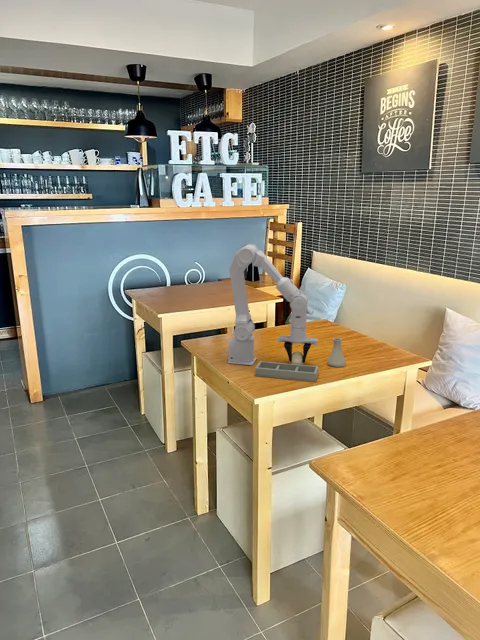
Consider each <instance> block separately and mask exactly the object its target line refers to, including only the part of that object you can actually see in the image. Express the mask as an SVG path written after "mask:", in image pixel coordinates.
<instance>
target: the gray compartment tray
mask: <svg viewBox="0 0 480 640" xmlns="http://www.w3.org/2000/svg"><path fill="white" fill-rule="evenodd" d="M254 376H255V377H260V378H271V379H280V380H290V381H291V380H292V381H301V382H311V383H312V382H313V383H316V382H317V379H318V376H319V366H318V365H311V364H310V365H307V364H303V365H299V364H291V363H286V362H285V363H284V362H274V361H263V360H259V362H258V364H257V365H256V366H255V368H254Z"/></svg>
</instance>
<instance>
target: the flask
mask: <svg viewBox="0 0 480 640" xmlns="http://www.w3.org/2000/svg"><path fill="white" fill-rule="evenodd" d="M332 340H333V345H332V349H331V352H330V354H329V357H328V359H327V362H326V364H327V366H329V367H334V368H343V367H345V366H346V365H347V362H346V359H345V357H344V353H343V350H342V344H341V343H342V341H343V339H342V338H341V337H333V338H332Z"/></svg>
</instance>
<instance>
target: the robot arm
mask: <svg viewBox="0 0 480 640" xmlns="http://www.w3.org/2000/svg"><path fill="white" fill-rule="evenodd" d="M252 263H253V264H252ZM250 264H252V266H253V267H258V268H261V269H262V270H263V271H264V273H265V274H267V275H268V276H269V278H271V279H272V280H273V282H274V283H275V285H276V287H275V288H276V290H277V291H278V292H279V293H280V294H281V296H282V297H283V298H284V299H285V300H286V302H289V307H290V309H291V313H290V330H289V333H290V334H289V335H279V336H278V337H277V342H278V343H283V347H284V349H285V352H286V354H287V357H288V362H289V363H291V356H292V354H293V344H300V345H301V344H302V354H303V364H305V363H306V360H307V355H308V352H309V351H310V348H311V347H312V345H314V346H318V344H319V338H313V337H309V336H307V320H308V319H307V310H308V309H307V306H308V303H309V302H308V297H307V295H306V294H305V293H303V291H302V290H301V289H299V288H298V287H297V286H296V284H294V280H293V279H292V278H289V277H285V276H283V275H282V274H281V273H280V271H278V269H277V268H276V267H275V265H274V264H273V263H272V262H271V260H270V259H269V258H268V257H267V255H266V254H265V253H264V252H263V251H262V250H261V249H259V248H258V246H257V245H256V244H253V243H249V244H246V245H245V246H242V247H241V248H239V250H238V251H236V252H235V254H234V257H233V259H232V261H231V263H230V266H229V277H230V282H231V283H230V284H231V290H232V299H233V305H234V311H235V320H234V325H235V327H234V330H233V334H234V335H233V336H234V337H231V338H230V339H229V341H228V346H227V347H228V349H227V351H228V361H227V364H233V365H244V366H245V365H246V366H253V365H254V364H255V362H256V360H257V359H258V358H257V357H255V337H254V335H253V333H254V332H255V330H256V325H255V323H254V321H253V319H252V315H251V313H250V310H249V301H248V295H247V293H248V292H247V288H246V286H247V285H246V280H245V272H244V271H245V270H246V269H247V268H248V267H249V265H250Z"/></svg>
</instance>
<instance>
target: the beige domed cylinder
mask: <svg viewBox="0 0 480 640" xmlns="http://www.w3.org/2000/svg"><path fill="white" fill-rule="evenodd" d="M290 364H299V365H304V363H303V352H301V351H294V352H292V356H291V362H290Z"/></svg>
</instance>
